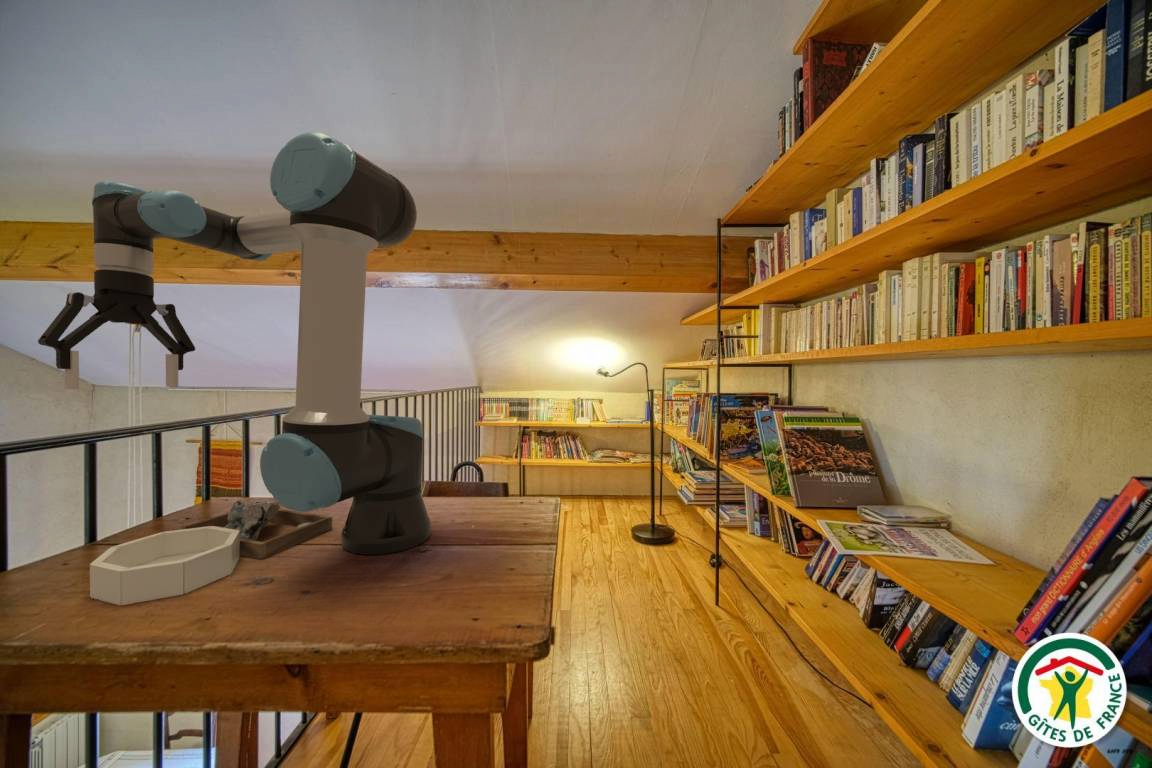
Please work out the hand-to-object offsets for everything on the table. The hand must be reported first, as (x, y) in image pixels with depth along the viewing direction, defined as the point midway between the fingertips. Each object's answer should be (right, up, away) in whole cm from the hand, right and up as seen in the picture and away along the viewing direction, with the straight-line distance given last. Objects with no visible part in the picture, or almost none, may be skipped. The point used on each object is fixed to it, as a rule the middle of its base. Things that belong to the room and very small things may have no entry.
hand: (126, 387), depth 78 cm
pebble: (+32, -28, +2) cm, 43 cm away
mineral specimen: (+23, -28, 0) cm, 36 cm away
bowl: (+23, -28, -15) cm, 39 cm away
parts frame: (+24, -28, 0) cm, 37 cm away
